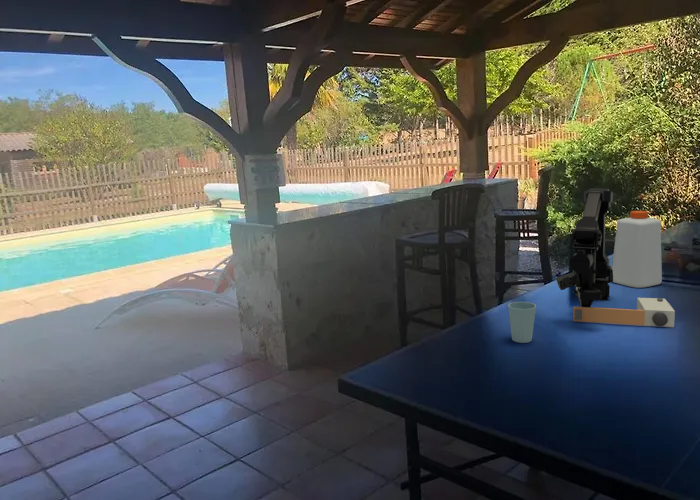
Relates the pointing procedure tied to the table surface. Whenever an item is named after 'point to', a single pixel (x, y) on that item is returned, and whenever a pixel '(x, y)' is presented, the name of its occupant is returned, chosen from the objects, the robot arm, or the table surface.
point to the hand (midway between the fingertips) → (584, 313)
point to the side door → (608, 315)
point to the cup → (522, 321)
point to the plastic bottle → (637, 251)
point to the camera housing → (656, 312)
